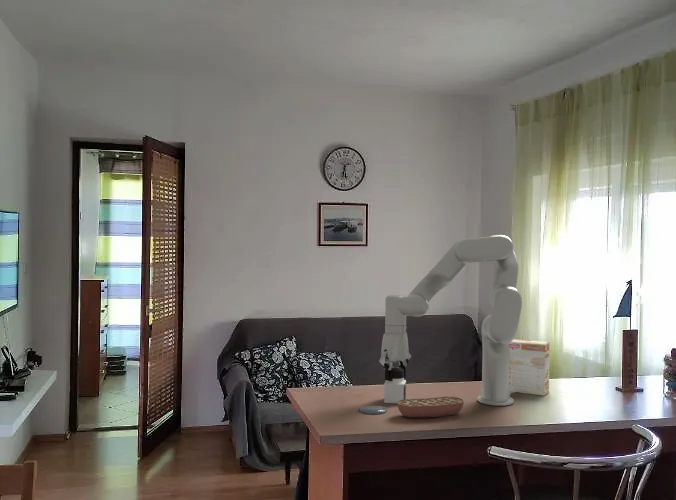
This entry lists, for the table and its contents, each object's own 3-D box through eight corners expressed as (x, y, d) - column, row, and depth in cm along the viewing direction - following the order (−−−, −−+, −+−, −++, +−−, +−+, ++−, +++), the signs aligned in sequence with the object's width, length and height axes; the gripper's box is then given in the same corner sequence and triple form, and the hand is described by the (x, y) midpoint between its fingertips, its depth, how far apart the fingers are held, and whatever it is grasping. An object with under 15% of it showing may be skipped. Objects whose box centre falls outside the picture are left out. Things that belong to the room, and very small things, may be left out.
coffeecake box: (549, 392, 249) (550, 341, 249) (544, 396, 243) (545, 344, 243) (510, 387, 257) (511, 338, 257) (505, 391, 251) (505, 340, 251)
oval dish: (456, 410, 224) (456, 395, 224) (469, 417, 215) (469, 402, 215) (393, 414, 218) (393, 399, 218) (404, 422, 209) (404, 407, 209)
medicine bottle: (404, 404, 231) (404, 370, 231) (384, 403, 232) (384, 369, 232) (406, 399, 238) (406, 366, 238) (386, 398, 239) (386, 365, 239)
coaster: (373, 405, 229) (373, 404, 229) (392, 411, 222) (392, 409, 222) (354, 410, 223) (354, 408, 223) (373, 415, 216) (373, 414, 216)
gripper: (404, 326, 243) (404, 374, 243) (371, 330, 232) (370, 380, 232) (419, 328, 237) (419, 377, 238) (386, 333, 226) (385, 384, 226)
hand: (395, 378), depth 235 cm, fingers closed on medicine bottle, 6 cm apart
